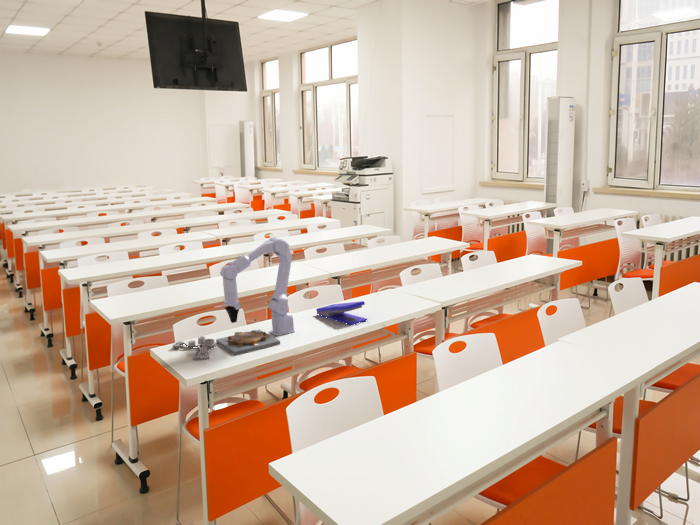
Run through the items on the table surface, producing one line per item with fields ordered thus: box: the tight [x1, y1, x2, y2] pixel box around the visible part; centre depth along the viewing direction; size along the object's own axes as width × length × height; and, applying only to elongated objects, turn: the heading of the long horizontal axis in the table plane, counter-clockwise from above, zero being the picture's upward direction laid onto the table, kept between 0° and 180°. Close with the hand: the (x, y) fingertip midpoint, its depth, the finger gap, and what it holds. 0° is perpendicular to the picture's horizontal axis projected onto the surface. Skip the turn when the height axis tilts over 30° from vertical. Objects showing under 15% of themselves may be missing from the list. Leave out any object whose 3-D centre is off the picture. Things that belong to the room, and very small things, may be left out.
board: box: [215, 329, 281, 356], centre depth 247 cm, size 21×22×2 cm
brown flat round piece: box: [227, 329, 267, 346], centre depth 247 cm, size 17×17×5 cm
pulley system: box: [172, 336, 217, 361], centre depth 242 cm, size 27×5×15 cm
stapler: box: [316, 300, 368, 326], centre depth 278 cm, size 12×28×10 cm, turn 40°
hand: (233, 322), depth 249 cm, fingers closed
